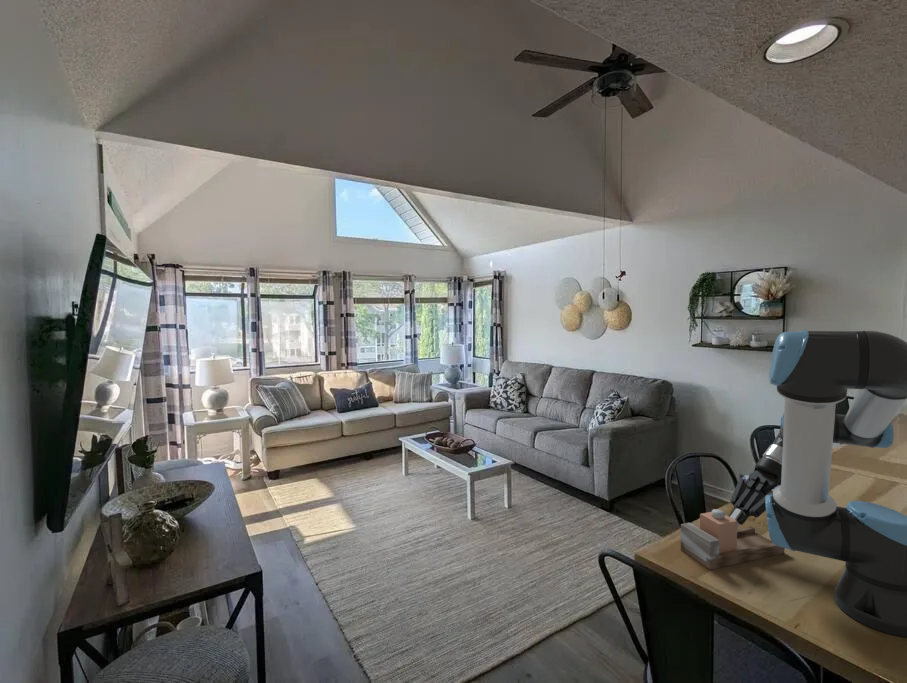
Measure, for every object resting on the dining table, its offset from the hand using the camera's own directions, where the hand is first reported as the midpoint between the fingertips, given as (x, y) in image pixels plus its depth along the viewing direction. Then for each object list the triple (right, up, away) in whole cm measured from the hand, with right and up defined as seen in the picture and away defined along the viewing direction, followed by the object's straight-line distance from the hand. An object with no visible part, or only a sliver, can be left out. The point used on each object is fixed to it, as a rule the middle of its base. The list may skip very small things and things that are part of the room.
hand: (728, 530), depth 123 cm
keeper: (-4, -5, -1) cm, 6 cm away
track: (+1, -6, 0) cm, 6 cm away
